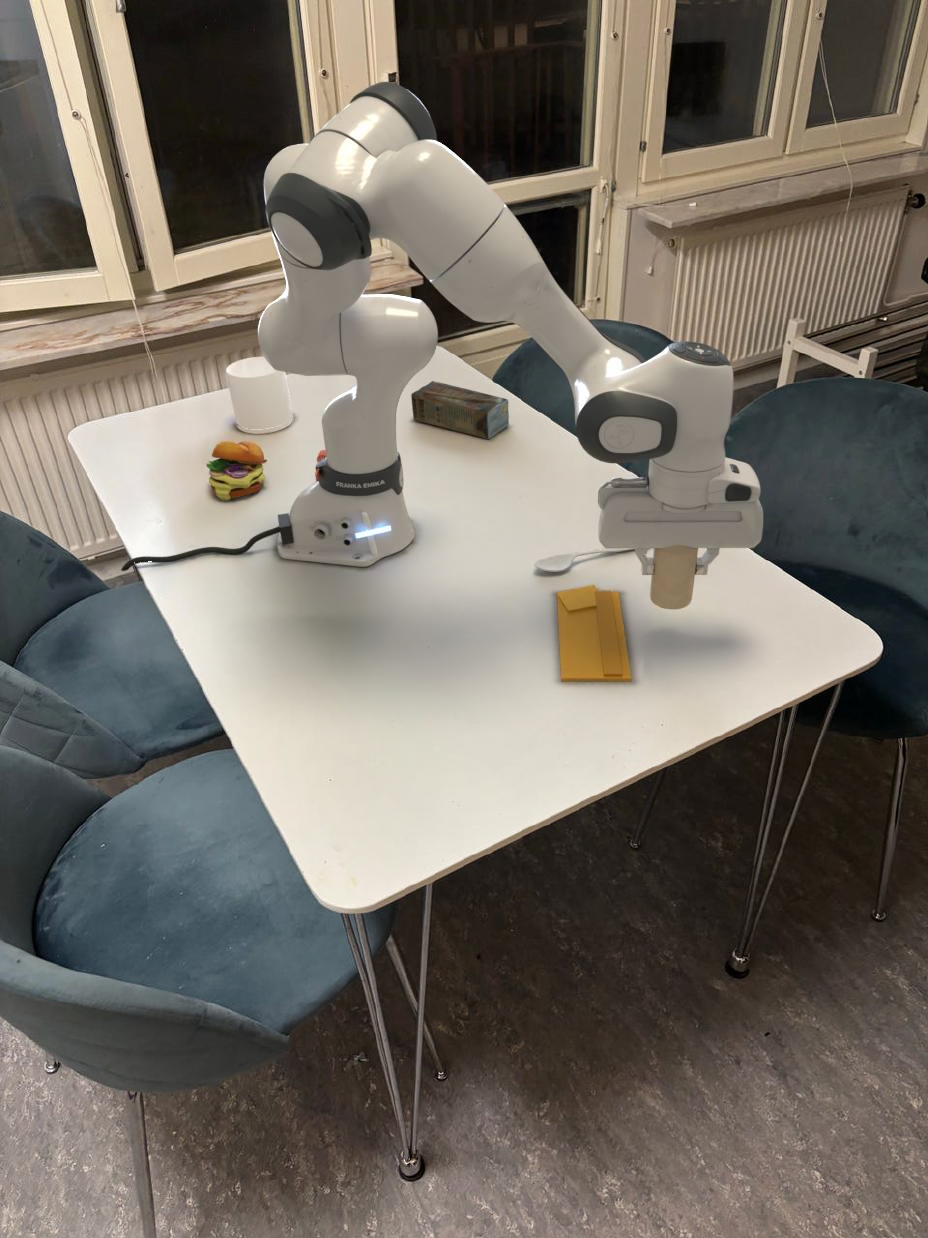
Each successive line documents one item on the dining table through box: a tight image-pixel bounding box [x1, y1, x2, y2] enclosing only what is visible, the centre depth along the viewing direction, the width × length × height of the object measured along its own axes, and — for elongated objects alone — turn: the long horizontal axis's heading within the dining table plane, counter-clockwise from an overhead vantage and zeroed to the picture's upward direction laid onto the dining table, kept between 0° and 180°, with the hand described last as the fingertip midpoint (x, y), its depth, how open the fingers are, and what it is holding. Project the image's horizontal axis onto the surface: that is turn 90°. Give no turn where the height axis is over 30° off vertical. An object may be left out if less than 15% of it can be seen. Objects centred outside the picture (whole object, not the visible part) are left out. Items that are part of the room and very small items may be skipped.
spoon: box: [533, 547, 635, 573], centre depth 141 cm, size 4×21×2 cm, turn 113°
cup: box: [225, 356, 294, 435], centre depth 186 cm, size 12×12×12 cm
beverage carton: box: [410, 380, 510, 440], centre depth 183 cm, size 8×19×7 cm, turn 55°
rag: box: [556, 584, 632, 682], centre depth 126 cm, size 9×21×1 cm, turn 177°
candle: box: [649, 545, 699, 611], centre depth 118 cm, size 6×6×10 cm
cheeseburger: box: [206, 440, 268, 502], centre depth 164 cm, size 10×11×10 cm
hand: (673, 572), depth 119 cm, fingers closed on candle, 5 cm apart
